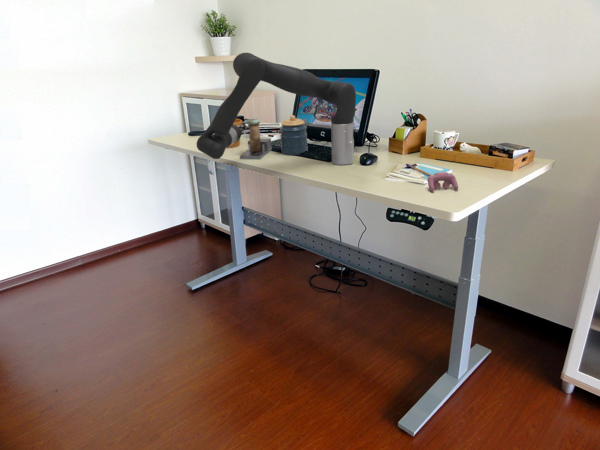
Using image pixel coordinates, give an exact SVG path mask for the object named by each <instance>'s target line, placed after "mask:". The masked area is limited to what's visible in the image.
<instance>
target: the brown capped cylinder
mask: <svg viewBox="0 0 600 450" xmlns="http://www.w3.org/2000/svg"><path fill="white" fill-rule="evenodd" d="M260 121H261V120H260V119H259V118H252V119H251V118H249V119H246V125H247V126H248V127H250V134H248V135H249V140H250V146H251V151H252V152H258V151H261V142H260V139H261V134H260V133H261V132H260V123H261V122H260Z"/></svg>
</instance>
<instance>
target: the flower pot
mask: <svg viewBox="0 0 600 450" xmlns="http://www.w3.org/2000/svg"><path fill="white" fill-rule="evenodd" d="M241 124H243V120H242V119H240V118H236V119H235V121H234V123H233V125H236V126H238V125H241ZM240 141H241V138H240V139H239V140H238V141H237V142H235V143H234V144H232V145H231V146H228V147H227V148H226V149H228V148H237V147H239V146H240V143H241V142H240Z"/></svg>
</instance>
